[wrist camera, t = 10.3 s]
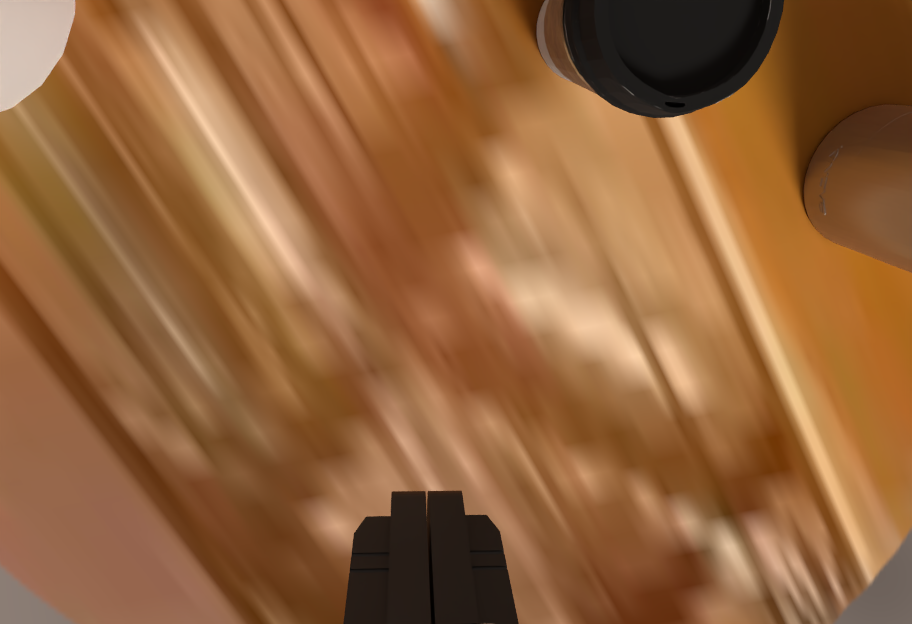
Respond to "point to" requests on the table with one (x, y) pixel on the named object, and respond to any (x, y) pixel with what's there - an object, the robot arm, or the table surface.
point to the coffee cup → (658, 49)
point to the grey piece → (30, 44)
